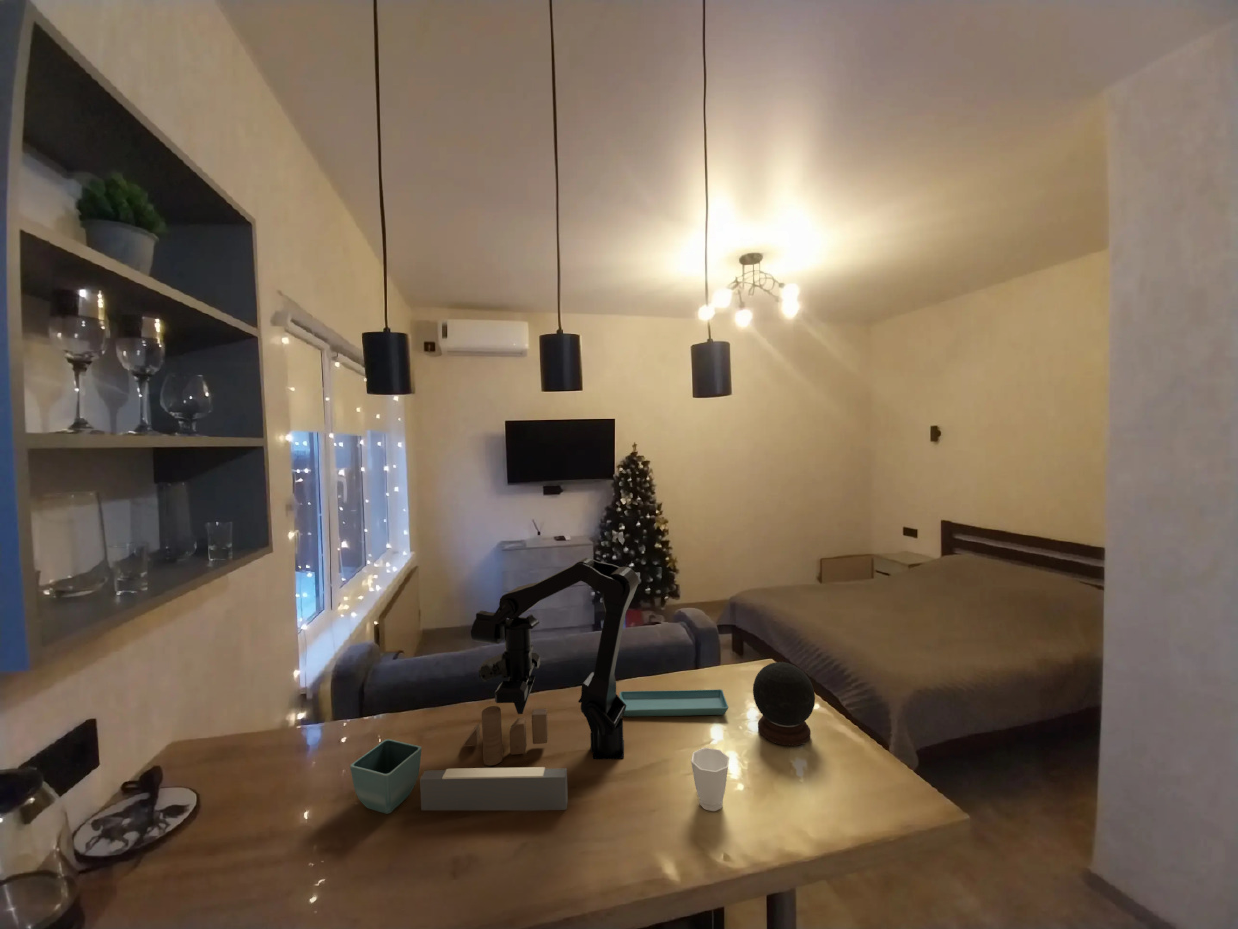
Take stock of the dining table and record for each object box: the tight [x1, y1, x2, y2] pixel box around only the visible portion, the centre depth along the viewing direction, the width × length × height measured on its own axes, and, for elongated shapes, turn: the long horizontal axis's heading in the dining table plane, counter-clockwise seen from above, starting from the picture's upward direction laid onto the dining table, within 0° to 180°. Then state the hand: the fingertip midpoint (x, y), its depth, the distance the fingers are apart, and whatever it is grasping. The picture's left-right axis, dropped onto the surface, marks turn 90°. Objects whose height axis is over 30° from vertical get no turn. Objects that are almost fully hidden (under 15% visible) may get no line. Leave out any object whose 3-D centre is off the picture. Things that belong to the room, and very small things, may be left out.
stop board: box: [419, 766, 569, 811], centre depth 90 cm, size 26×2×6 cm, turn 89°
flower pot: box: [349, 738, 423, 815], centre depth 92 cm, size 9×9×9 cm
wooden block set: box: [462, 705, 549, 767], centre depth 106 cm, size 18×9×10 cm, turn 94°
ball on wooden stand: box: [752, 661, 816, 747], centre depth 111 cm, size 13×13×15 cm
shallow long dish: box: [618, 688, 729, 717], centre depth 123 cm, size 26×9×2 cm, turn 88°
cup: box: [690, 747, 730, 812], centre depth 91 cm, size 7×10×8 cm
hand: (520, 713), depth 112 cm, fingers closed
